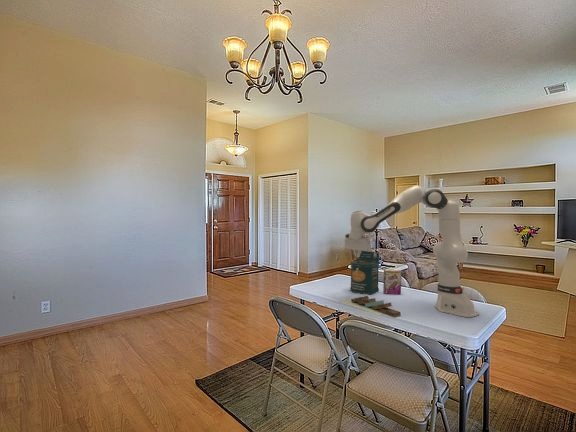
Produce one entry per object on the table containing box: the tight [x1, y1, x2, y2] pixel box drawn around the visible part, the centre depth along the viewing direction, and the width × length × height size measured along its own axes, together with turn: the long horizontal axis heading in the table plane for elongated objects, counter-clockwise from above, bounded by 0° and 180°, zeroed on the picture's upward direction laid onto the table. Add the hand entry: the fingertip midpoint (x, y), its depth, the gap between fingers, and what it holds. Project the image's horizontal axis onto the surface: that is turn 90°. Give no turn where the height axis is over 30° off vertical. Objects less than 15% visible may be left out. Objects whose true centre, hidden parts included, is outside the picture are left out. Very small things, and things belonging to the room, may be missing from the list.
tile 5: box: [350, 295, 370, 302], centre depth 189 cm, size 2×5×10 cm
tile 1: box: [380, 307, 402, 318], centre depth 170 cm, size 2×5×10 cm
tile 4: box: [358, 297, 377, 305], centre depth 185 cm, size 2×5×10 cm
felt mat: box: [339, 297, 385, 316], centre depth 185 cm, size 31×15×1 cm, turn 33°
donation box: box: [349, 251, 380, 296], centre depth 219 cm, size 16×16×28 cm
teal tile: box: [365, 300, 385, 307], centre depth 180 cm, size 2×5×10 cm
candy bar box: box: [383, 268, 402, 295], centre depth 215 cm, size 11×5×16 cm, turn 84°
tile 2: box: [372, 302, 393, 310], centre depth 175 cm, size 2×5×10 cm
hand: (357, 256), depth 201 cm, fingers closed
